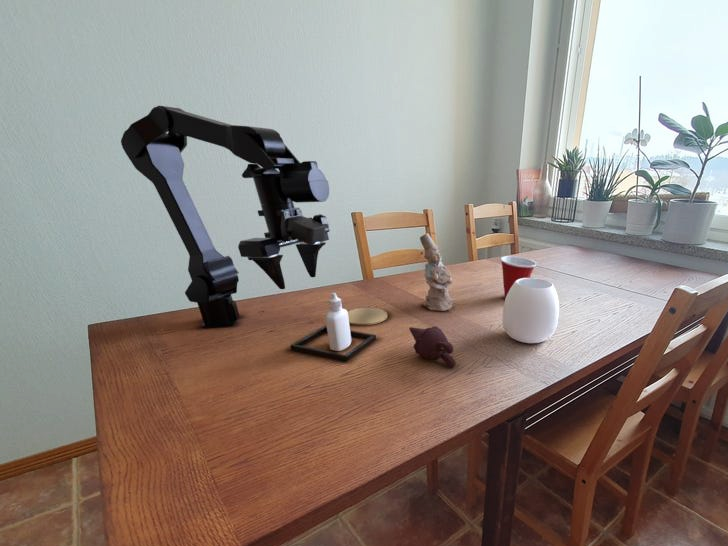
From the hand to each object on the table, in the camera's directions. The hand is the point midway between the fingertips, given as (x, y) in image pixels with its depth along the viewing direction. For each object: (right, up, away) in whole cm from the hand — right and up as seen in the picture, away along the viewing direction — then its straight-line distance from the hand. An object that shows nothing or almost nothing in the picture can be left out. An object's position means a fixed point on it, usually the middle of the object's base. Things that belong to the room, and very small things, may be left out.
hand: (298, 282), depth 79 cm
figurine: (+27, -1, +27) cm, 38 cm away
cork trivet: (+9, -5, +17) cm, 20 cm away
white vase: (+50, -11, +12) cm, 53 cm away
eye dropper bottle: (+8, -14, +2) cm, 16 cm away
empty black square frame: (+7, -13, +3) cm, 15 cm away
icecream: (+28, -16, 0) cm, 32 cm away
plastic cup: (+49, +3, +37) cm, 62 cm away
